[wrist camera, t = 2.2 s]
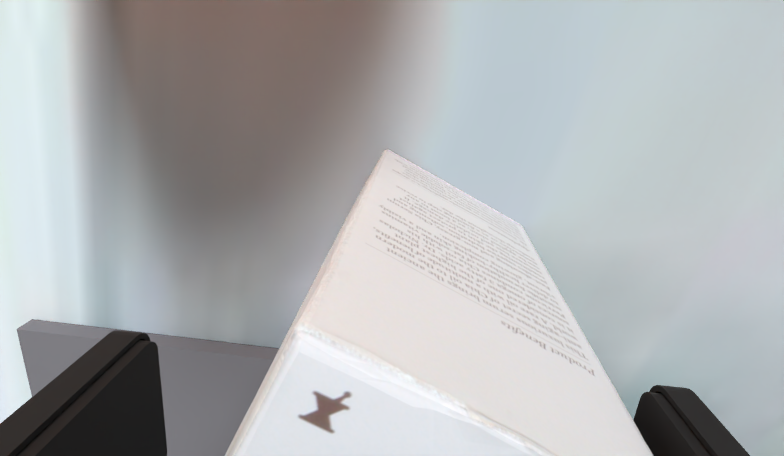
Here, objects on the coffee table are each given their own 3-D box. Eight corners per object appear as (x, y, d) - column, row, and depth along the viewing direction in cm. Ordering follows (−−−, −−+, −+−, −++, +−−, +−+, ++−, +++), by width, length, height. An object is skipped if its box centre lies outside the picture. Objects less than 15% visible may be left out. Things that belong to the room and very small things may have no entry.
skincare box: (334, 239, 18) (168, 537, 7) (386, 145, 16) (289, 315, 5) (466, 311, 18) (524, 697, 7) (528, 225, 17) (721, 537, 6)
